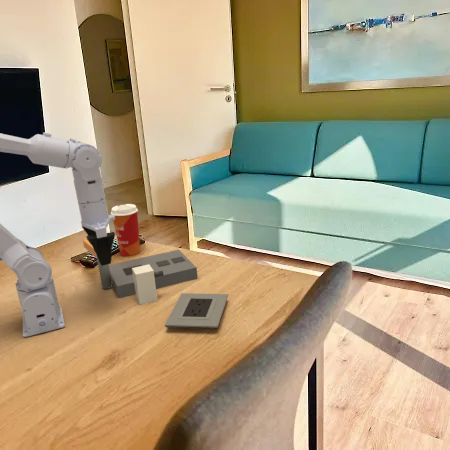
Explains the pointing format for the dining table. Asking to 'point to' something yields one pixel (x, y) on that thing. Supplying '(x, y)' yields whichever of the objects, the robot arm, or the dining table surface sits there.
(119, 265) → the power block
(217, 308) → the electrical outlet
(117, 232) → the paper cup
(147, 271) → the plug
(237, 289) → the dining table surface
